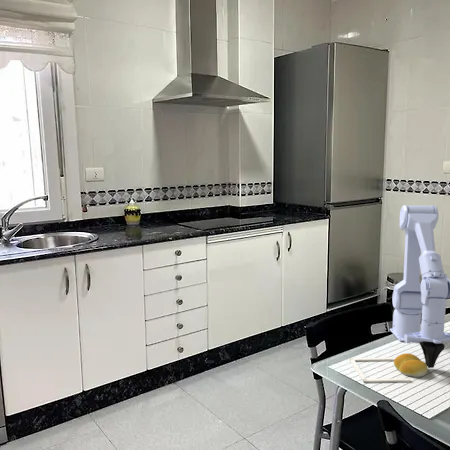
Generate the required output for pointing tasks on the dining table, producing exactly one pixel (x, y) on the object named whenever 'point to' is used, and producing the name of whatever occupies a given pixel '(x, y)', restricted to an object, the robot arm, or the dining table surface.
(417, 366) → the bread roll
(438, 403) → the dining table surface
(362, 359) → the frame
